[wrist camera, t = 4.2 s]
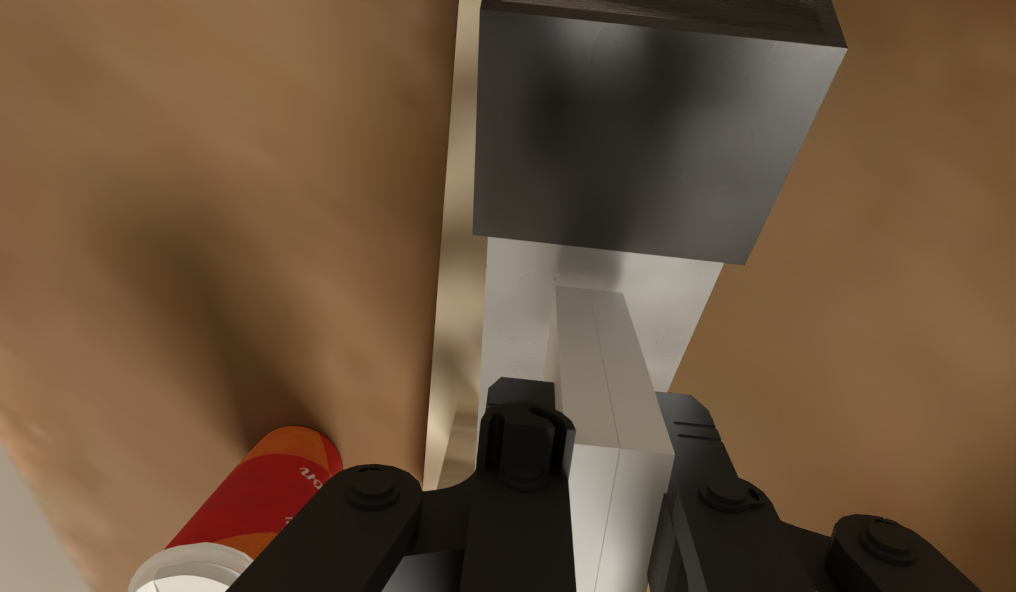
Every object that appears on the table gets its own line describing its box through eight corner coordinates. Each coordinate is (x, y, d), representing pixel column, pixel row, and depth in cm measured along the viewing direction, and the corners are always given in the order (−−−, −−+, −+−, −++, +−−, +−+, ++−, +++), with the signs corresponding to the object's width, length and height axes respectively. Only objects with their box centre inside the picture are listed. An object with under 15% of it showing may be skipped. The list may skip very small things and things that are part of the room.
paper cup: (338, 533, 47) (257, 725, 34) (224, 492, 46) (95, 670, 33) (377, 434, 44) (306, 598, 31) (256, 389, 44) (131, 537, 31)
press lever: (588, 537, 34) (587, 595, 32) (468, 523, 34) (461, 580, 32) (818, -36, 13) (848, 48, 11) (497, -71, 13) (479, 9, 11)
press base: (618, 514, 45) (648, 707, 32) (426, 492, 46) (378, 675, 32) (718, -50, 35) (824, -108, 22) (469, -76, 35) (424, -150, 22)
